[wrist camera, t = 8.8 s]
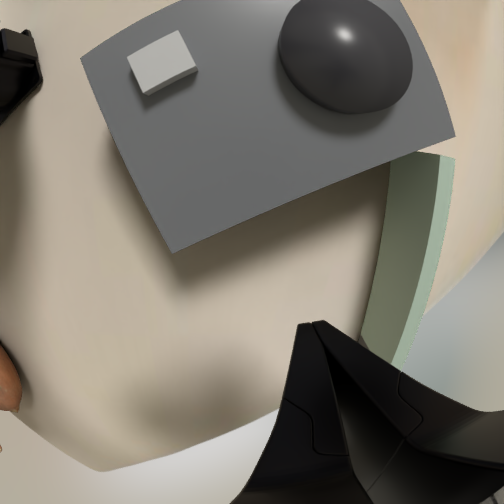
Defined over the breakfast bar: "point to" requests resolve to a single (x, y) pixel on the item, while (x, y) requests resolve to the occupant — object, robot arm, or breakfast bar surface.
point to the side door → (407, 253)
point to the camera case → (261, 103)
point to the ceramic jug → (9, 385)
